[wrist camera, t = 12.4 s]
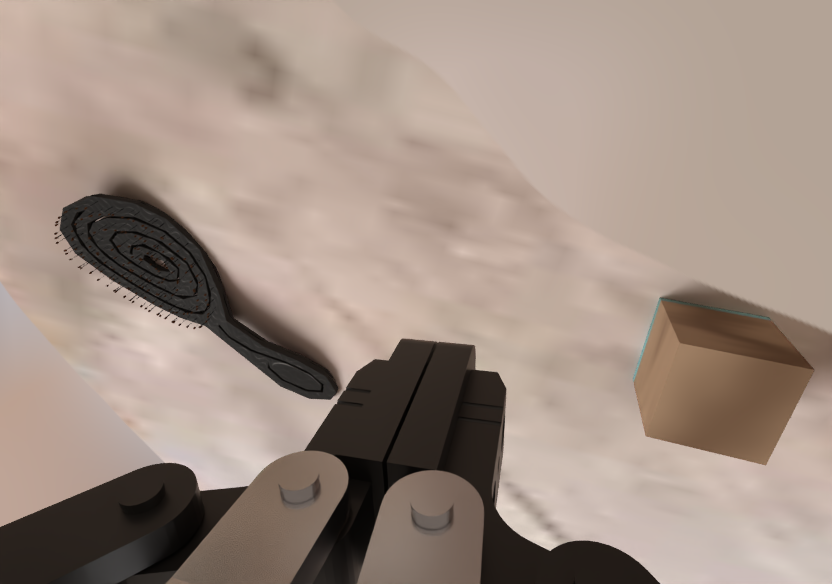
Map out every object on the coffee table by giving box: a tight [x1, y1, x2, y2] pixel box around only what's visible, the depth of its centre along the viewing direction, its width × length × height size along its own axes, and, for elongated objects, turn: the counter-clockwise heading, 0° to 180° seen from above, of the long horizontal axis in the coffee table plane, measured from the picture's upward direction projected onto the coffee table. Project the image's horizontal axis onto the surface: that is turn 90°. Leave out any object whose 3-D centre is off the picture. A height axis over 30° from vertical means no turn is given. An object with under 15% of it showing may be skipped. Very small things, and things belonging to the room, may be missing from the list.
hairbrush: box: [54, 194, 338, 400], centre depth 39 cm, size 8×4×25 cm
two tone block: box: [633, 298, 814, 465], centre depth 28 cm, size 6×6×6 cm
